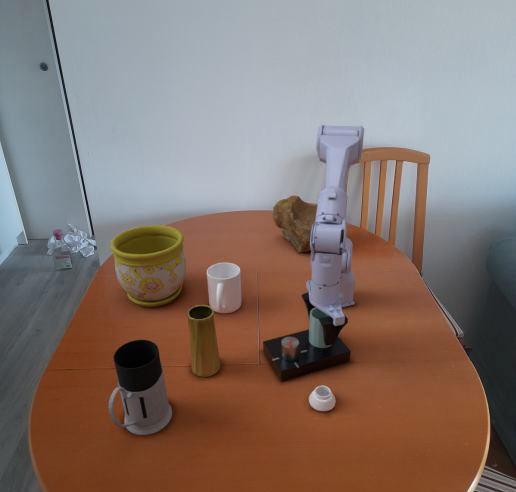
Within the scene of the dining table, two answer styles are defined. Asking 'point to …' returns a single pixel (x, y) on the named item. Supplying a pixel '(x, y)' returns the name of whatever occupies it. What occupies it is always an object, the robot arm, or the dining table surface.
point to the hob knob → (290, 348)
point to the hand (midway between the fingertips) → (322, 333)
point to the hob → (304, 356)
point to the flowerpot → (150, 263)
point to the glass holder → (141, 388)
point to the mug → (224, 287)
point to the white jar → (322, 399)
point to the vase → (203, 341)
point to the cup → (316, 328)
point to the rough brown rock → (295, 221)
